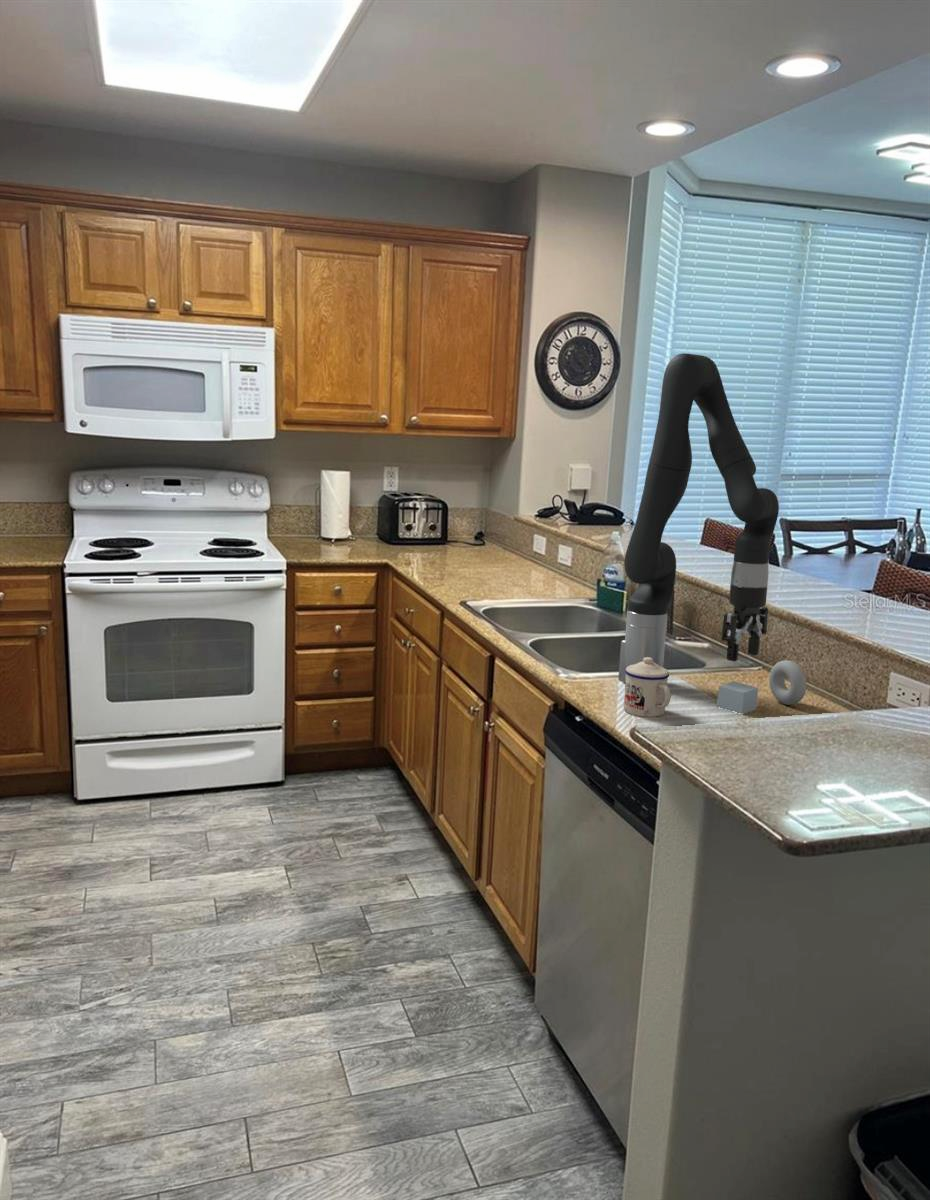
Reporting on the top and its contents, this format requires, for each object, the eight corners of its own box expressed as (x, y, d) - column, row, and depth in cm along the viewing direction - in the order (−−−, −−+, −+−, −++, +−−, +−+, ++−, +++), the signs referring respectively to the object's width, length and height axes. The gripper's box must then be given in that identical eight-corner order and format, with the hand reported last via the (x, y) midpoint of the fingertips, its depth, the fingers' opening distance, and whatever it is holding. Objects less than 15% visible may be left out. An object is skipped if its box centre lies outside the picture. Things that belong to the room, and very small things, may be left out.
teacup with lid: (613, 707, 197) (617, 654, 194) (646, 702, 201) (651, 651, 199) (649, 724, 186) (654, 669, 184) (684, 719, 191) (689, 665, 188)
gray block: (716, 708, 200) (718, 685, 199) (731, 703, 204) (733, 681, 203) (741, 715, 196) (743, 692, 195) (756, 709, 200) (758, 687, 199)
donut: (763, 698, 208) (768, 655, 206) (775, 697, 209) (780, 654, 207) (795, 711, 199) (800, 667, 197) (807, 710, 200) (812, 666, 199)
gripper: (750, 577, 202) (744, 649, 205) (715, 583, 192) (709, 658, 195) (782, 582, 196) (775, 656, 199) (747, 588, 187) (740, 666, 190)
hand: (742, 657), depth 197 cm, fingers open, 8 cm apart
